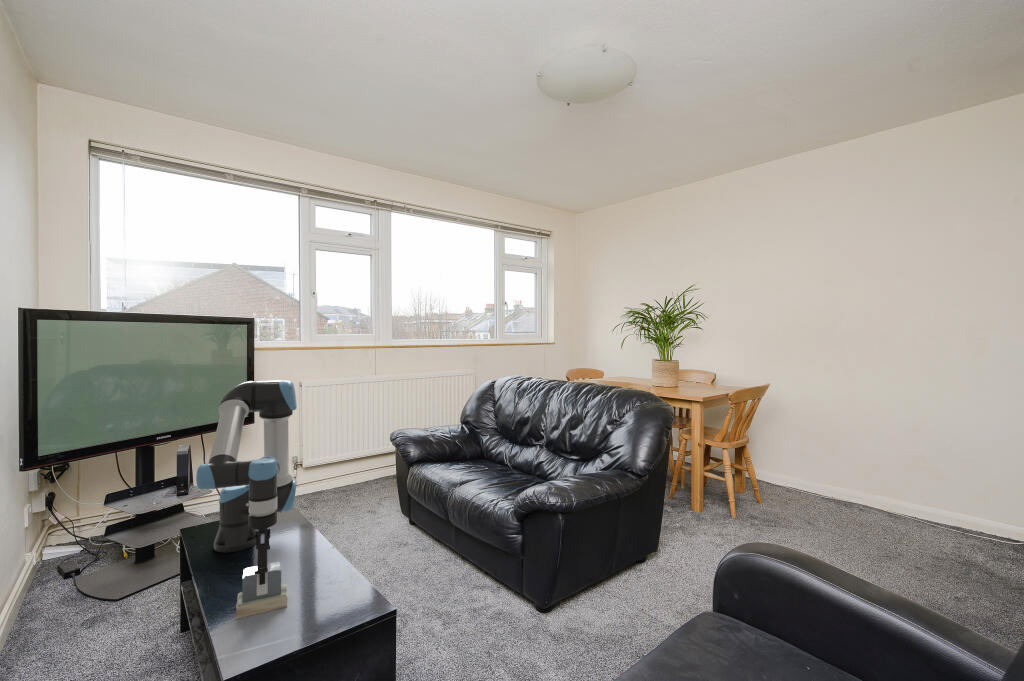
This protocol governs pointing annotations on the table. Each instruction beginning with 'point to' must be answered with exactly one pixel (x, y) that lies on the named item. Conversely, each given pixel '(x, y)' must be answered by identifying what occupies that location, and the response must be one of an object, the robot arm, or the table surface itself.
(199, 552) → the table surface
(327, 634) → the table surface
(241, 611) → the stand
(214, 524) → the table surface
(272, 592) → the housing
